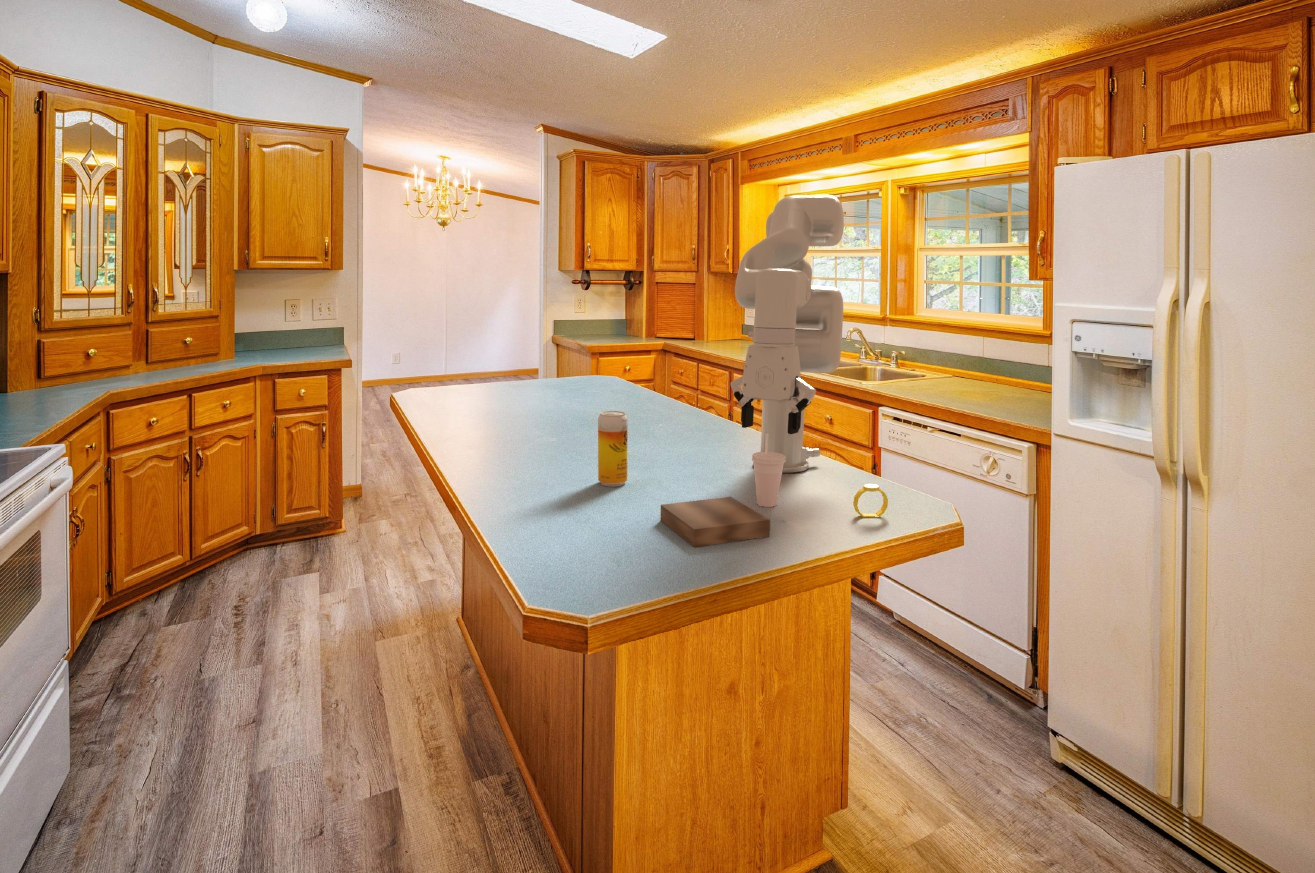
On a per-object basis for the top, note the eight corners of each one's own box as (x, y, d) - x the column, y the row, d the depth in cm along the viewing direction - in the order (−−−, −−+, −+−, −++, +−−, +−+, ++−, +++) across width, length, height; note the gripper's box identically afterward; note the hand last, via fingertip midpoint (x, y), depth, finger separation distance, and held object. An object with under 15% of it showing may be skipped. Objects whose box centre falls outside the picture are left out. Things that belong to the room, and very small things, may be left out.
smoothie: (746, 499, 143) (749, 429, 140) (778, 499, 143) (782, 429, 140) (753, 509, 137) (756, 436, 134) (787, 509, 137) (791, 436, 134)
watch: (856, 520, 132) (856, 489, 131) (851, 515, 135) (851, 484, 134) (889, 518, 132) (889, 486, 131) (883, 513, 135) (883, 482, 134)
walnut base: (730, 512, 135) (730, 496, 134) (769, 536, 122) (770, 519, 122) (660, 520, 130) (660, 504, 129) (694, 547, 117) (694, 529, 116)
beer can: (623, 488, 150) (623, 416, 146) (594, 486, 151) (594, 415, 148) (630, 480, 155) (630, 411, 152) (602, 478, 157) (602, 410, 153)
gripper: (723, 336, 135) (719, 427, 139) (808, 341, 125) (802, 438, 128) (743, 335, 141) (740, 422, 144) (827, 339, 131) (821, 433, 134)
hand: (769, 430), depth 136 cm, fingers open, 9 cm apart
